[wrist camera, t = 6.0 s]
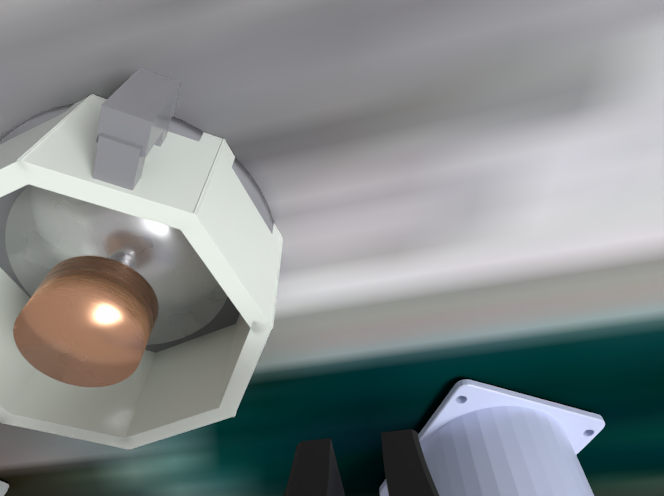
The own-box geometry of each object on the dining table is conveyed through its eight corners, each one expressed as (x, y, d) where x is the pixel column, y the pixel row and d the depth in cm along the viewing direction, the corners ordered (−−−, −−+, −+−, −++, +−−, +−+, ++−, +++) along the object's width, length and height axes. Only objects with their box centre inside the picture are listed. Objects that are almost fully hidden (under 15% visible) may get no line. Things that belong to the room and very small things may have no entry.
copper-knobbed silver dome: (206, 355, 22) (182, 451, 19) (7, 305, 21) (-64, 398, 17) (260, 201, 18) (243, 282, 14) (18, 123, 17) (-71, 192, 13)
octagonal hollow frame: (234, 371, 24) (216, 471, 20) (-23, 306, 22) (-103, 404, 18) (334, 121, 18) (338, 192, 14) (-15, -6, 15) (-138, 32, 11)
